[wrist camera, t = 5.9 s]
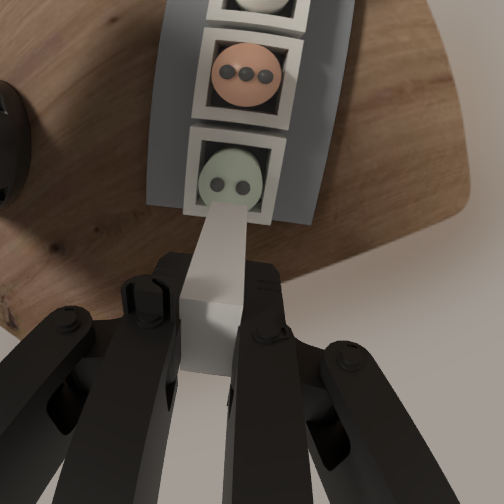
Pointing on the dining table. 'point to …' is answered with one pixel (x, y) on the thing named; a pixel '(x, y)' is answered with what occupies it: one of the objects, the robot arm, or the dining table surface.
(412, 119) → the dining table surface
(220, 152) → the button two
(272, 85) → the button three
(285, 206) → the button board
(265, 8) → the button one
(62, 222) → the dining table surface
